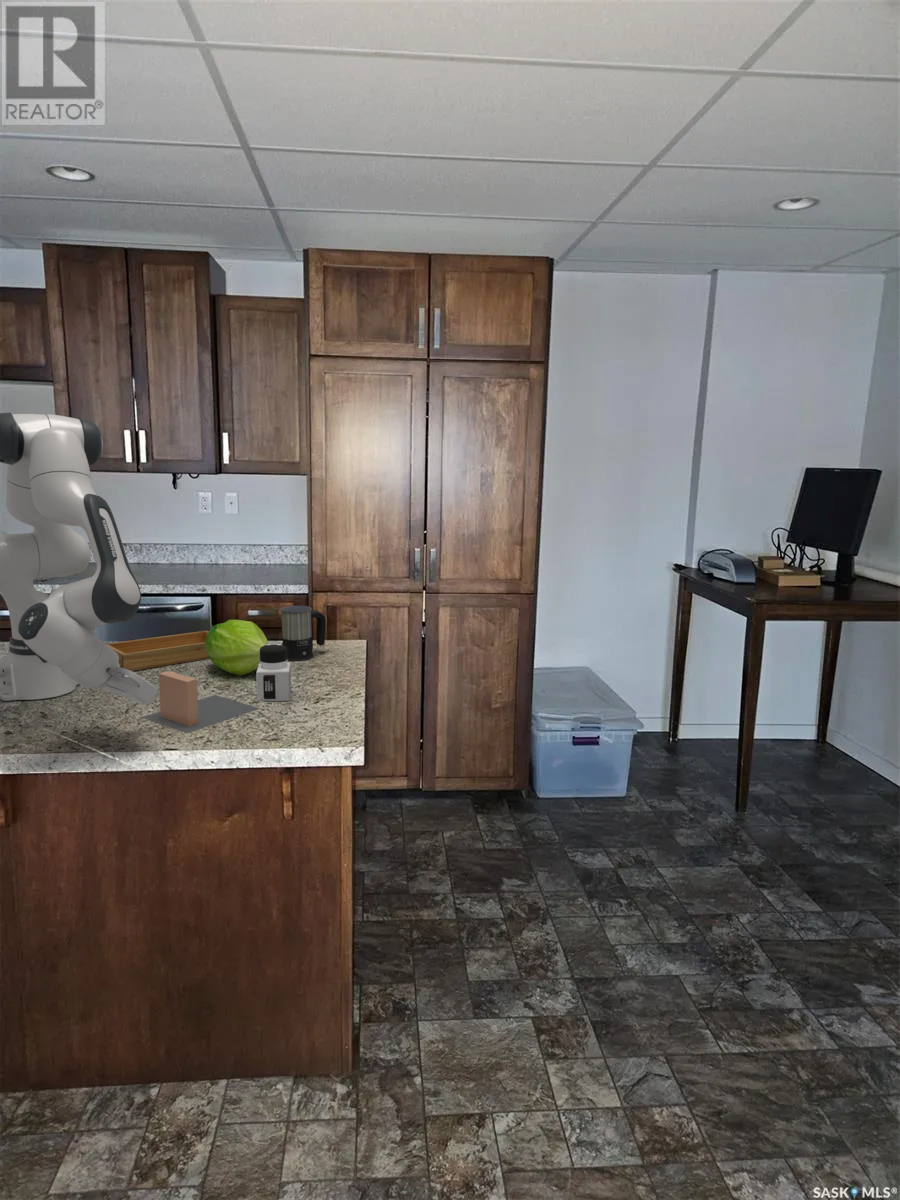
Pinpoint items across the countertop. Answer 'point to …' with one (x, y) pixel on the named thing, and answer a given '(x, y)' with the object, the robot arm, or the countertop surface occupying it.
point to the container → (273, 674)
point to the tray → (161, 650)
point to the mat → (207, 713)
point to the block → (178, 698)
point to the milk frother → (301, 631)
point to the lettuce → (235, 646)
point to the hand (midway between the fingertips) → (142, 700)
